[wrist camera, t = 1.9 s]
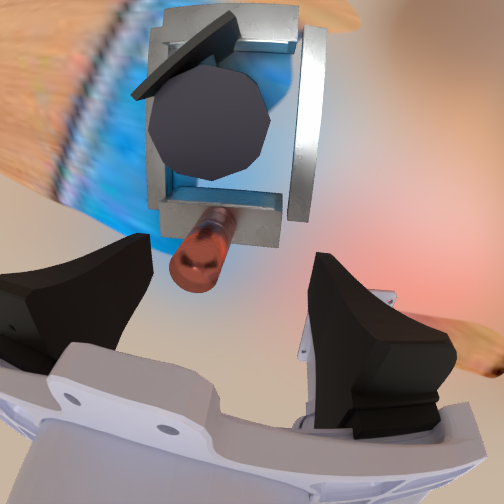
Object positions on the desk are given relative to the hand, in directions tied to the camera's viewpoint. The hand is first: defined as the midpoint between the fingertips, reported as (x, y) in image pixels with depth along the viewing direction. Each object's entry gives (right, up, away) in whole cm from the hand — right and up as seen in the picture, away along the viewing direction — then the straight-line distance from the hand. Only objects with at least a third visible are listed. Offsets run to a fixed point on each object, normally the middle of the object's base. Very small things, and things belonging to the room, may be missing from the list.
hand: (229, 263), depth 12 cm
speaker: (0, +11, +7) cm, 13 cm away
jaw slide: (-1, +4, +10) cm, 11 cm away
